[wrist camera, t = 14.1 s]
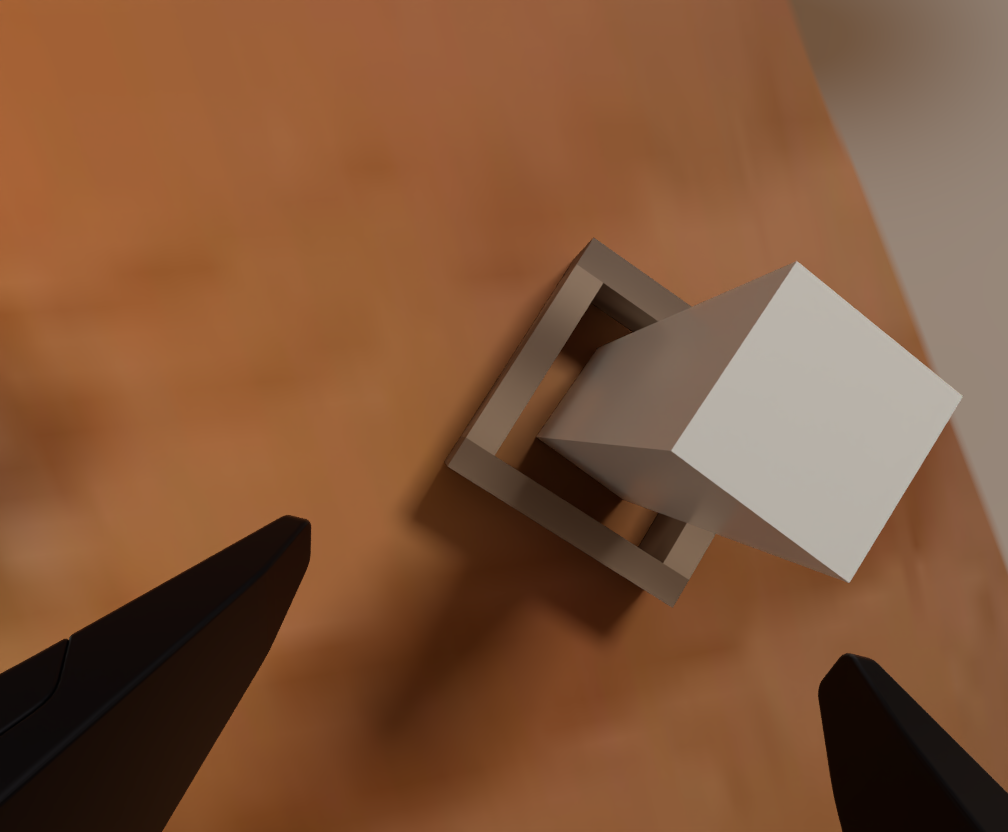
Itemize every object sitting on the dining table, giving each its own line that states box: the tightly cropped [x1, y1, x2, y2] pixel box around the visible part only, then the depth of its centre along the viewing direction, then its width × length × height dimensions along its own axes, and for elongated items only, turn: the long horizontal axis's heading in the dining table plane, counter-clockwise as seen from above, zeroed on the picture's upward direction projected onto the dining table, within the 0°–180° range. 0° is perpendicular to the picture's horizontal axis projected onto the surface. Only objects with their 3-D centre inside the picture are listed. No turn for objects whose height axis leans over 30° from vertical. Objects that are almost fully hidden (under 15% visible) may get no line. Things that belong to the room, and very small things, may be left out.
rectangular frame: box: [445, 238, 715, 608], centre depth 22 cm, size 10×10×2 cm
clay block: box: [536, 261, 963, 583], centre depth 17 cm, size 4×4×12 cm
